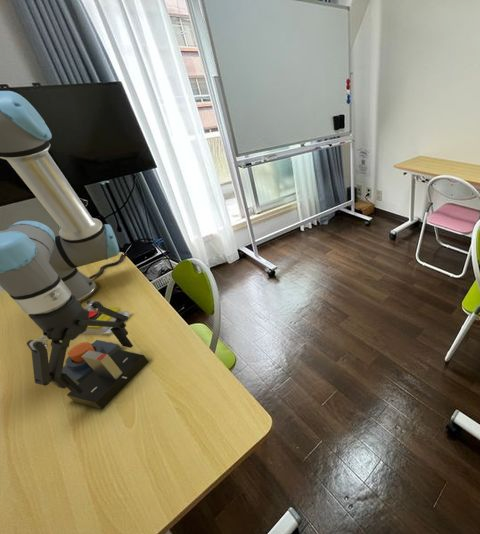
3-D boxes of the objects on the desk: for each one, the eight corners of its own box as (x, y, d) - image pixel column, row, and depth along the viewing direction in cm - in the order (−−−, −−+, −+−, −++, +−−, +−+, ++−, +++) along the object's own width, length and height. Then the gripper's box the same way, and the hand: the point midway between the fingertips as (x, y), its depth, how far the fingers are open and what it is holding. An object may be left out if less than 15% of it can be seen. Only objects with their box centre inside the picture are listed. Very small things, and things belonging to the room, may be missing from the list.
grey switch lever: (97, 375, 75) (80, 355, 70) (105, 368, 76) (88, 349, 72) (116, 380, 74) (99, 360, 69) (123, 373, 75) (107, 353, 71)
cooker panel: (123, 356, 83) (117, 348, 82) (153, 362, 81) (148, 355, 79) (73, 401, 72) (66, 394, 71) (107, 411, 70) (100, 403, 68)
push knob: (86, 346, 82) (81, 340, 81) (99, 349, 81) (94, 343, 80) (68, 360, 78) (63, 354, 77) (82, 364, 77) (77, 358, 76)
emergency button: (82, 303, 96) (125, 303, 95) (89, 313, 99) (132, 313, 98) (57, 324, 89) (104, 324, 88) (66, 334, 91) (111, 334, 90)
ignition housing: (100, 344, 87) (93, 335, 85) (122, 349, 86) (115, 339, 83) (58, 379, 78) (49, 370, 76) (81, 385, 76) (72, 376, 74)
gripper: (-11, 354, 50) (63, 418, 63) (118, 271, 70) (156, 332, 82) (-40, 346, 52) (38, 410, 64) (94, 267, 72) (134, 328, 84)
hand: (104, 367), depth 73 cm, fingers open, 13 cm apart
